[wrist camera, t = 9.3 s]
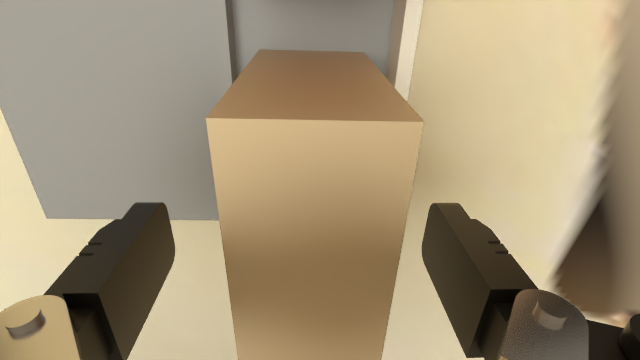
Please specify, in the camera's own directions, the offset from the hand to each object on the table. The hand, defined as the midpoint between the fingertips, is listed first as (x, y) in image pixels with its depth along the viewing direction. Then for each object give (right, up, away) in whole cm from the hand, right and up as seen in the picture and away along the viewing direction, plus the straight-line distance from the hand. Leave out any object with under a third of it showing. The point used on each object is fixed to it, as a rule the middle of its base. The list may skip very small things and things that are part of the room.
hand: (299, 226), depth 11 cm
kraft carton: (0, +4, +6) cm, 7 cm away
